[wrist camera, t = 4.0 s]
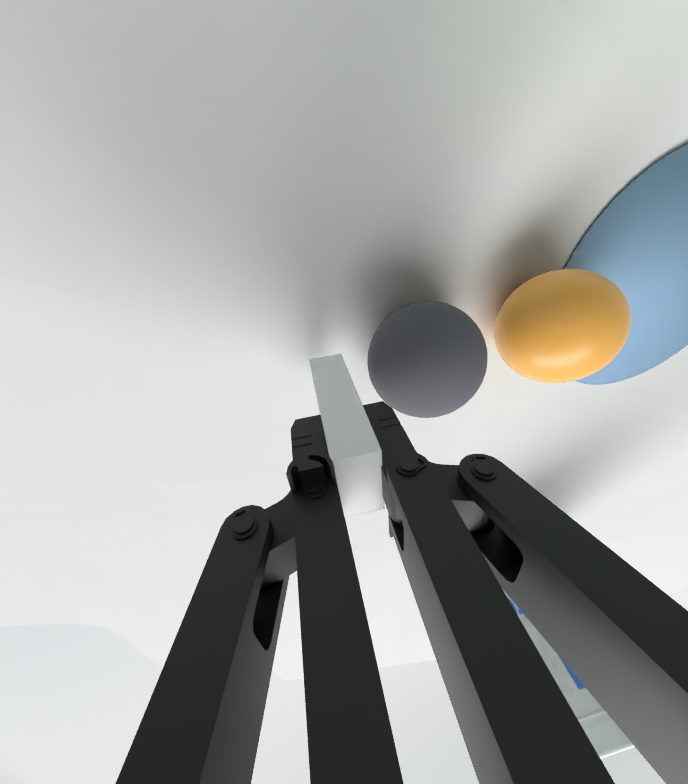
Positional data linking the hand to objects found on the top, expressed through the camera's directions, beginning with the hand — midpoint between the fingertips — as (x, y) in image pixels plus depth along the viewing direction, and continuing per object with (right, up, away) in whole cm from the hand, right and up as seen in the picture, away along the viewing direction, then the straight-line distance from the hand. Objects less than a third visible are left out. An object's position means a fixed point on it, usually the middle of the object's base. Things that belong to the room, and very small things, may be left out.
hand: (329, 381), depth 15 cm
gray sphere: (+5, +1, 0) cm, 5 cm away
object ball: (+11, +3, 0) cm, 12 cm away
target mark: (+20, +6, +4) cm, 21 cm away
